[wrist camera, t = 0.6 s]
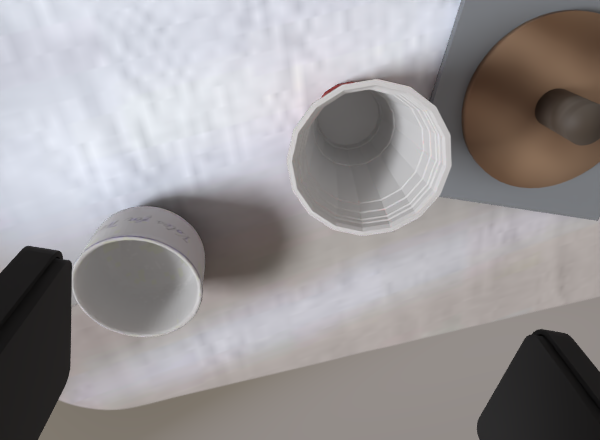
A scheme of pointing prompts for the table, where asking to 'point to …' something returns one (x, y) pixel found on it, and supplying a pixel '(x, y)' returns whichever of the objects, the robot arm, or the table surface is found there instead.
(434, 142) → the plastic cup
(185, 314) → the teacup
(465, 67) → the mat
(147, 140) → the table surface
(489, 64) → the lid
